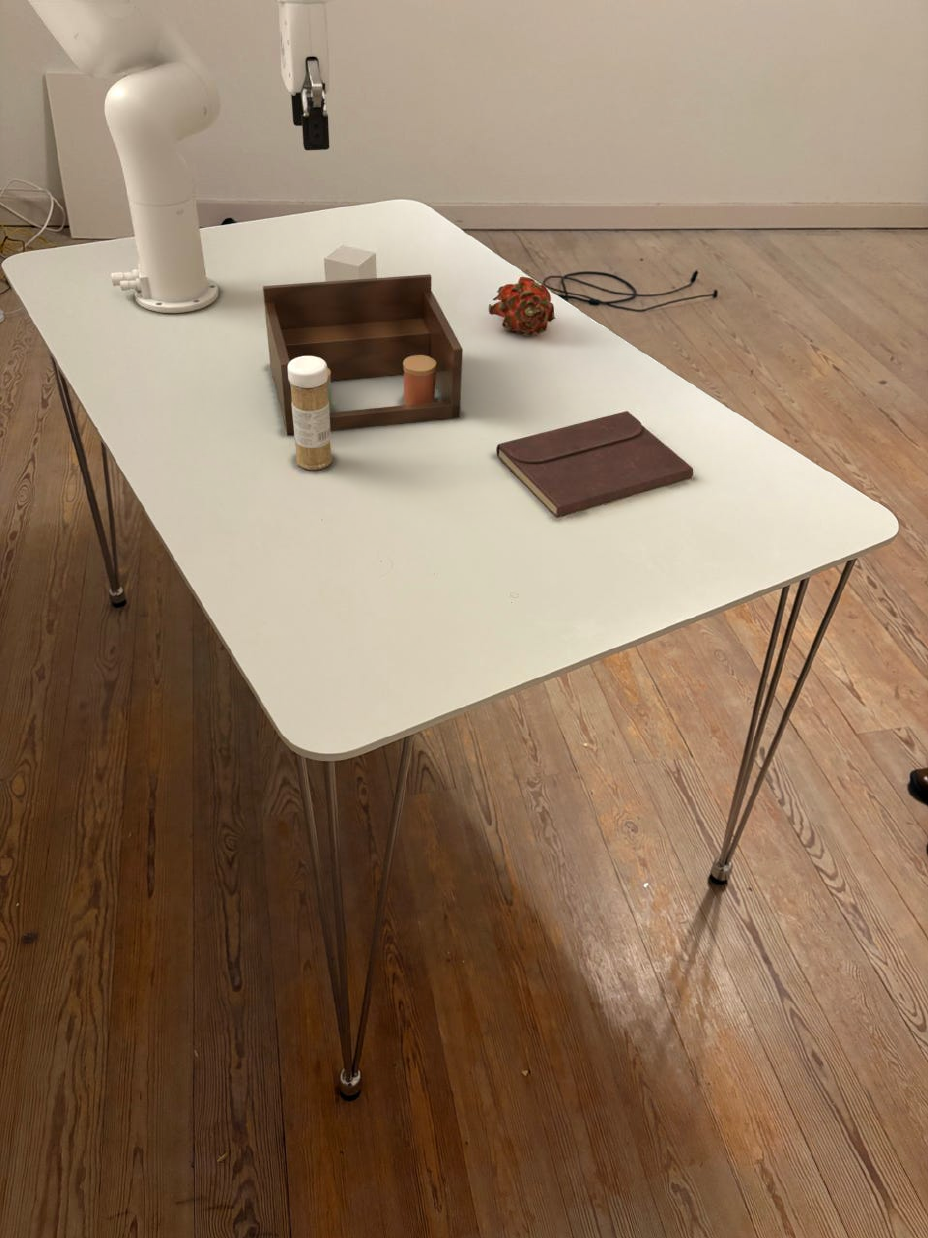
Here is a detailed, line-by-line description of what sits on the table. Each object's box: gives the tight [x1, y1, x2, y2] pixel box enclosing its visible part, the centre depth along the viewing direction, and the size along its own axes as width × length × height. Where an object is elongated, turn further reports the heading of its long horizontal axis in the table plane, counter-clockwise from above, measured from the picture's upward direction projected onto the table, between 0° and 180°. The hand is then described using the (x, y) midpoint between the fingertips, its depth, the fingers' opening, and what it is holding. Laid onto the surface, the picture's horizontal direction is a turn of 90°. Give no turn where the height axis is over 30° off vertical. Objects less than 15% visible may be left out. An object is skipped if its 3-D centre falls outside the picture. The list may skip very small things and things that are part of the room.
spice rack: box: [262, 273, 464, 436], centre depth 135 cm, size 23×18×12 cm
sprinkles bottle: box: [288, 356, 333, 471], centre depth 122 cm, size 5×5×14 cm
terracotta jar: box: [403, 355, 436, 405], centre depth 136 cm, size 4×4×6 cm
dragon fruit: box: [487, 276, 556, 337], centre depth 153 cm, size 8×8×12 cm
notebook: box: [495, 410, 694, 519], centre depth 127 cm, size 15×20×2 cm
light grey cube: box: [323, 244, 378, 282], centre depth 160 cm, size 6×6×6 cm
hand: (310, 136), depth 131 cm, fingers open, 9 cm apart
